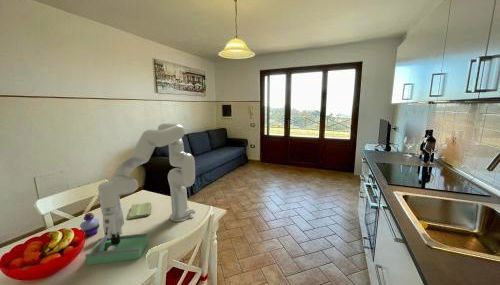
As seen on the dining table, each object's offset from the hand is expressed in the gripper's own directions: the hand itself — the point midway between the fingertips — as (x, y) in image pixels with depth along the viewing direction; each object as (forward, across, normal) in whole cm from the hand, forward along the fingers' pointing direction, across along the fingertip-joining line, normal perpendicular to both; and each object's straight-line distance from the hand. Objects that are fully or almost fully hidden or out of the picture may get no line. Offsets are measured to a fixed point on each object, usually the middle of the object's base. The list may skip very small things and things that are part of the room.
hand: (116, 243), depth 99 cm
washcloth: (+6, +40, +2) cm, 41 cm away
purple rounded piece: (+5, +19, +21) cm, 29 cm away
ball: (+3, -1, +2) cm, 4 cm away
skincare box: (+5, +16, +8) cm, 19 cm away
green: (+5, 0, -1) cm, 5 cm away
